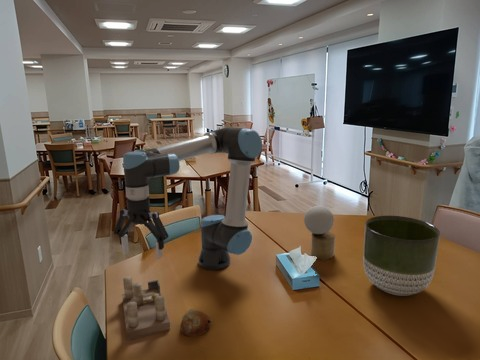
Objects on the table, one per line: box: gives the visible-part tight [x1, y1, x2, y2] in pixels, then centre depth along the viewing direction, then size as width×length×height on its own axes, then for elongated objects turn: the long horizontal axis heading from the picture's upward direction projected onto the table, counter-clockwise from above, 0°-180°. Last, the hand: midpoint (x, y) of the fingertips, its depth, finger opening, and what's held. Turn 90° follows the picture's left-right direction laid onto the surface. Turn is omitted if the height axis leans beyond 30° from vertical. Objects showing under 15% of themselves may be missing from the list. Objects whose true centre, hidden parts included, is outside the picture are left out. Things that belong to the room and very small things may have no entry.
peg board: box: [121, 276, 171, 341], centre depth 125 cm, size 24×14×11 cm, turn 22°
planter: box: [362, 215, 441, 297], centre depth 138 cm, size 27×27×27 cm
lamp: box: [303, 205, 336, 260], centre depth 170 cm, size 15×14×25 cm
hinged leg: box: [133, 282, 159, 306], centre depth 128 cm, size 9×3×8 cm, turn 112°
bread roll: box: [180, 308, 211, 337], centre depth 119 cm, size 10×10×8 cm
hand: (142, 255), depth 122 cm, fingers open, 13 cm apart
